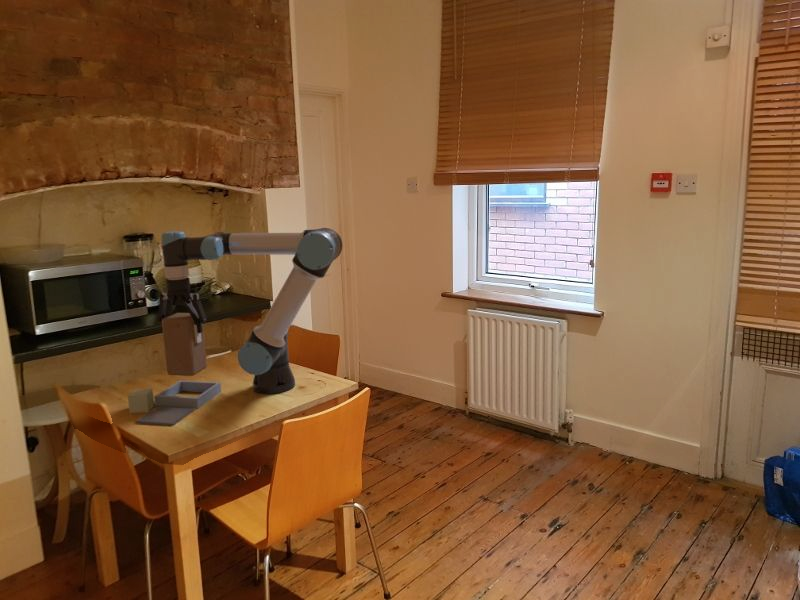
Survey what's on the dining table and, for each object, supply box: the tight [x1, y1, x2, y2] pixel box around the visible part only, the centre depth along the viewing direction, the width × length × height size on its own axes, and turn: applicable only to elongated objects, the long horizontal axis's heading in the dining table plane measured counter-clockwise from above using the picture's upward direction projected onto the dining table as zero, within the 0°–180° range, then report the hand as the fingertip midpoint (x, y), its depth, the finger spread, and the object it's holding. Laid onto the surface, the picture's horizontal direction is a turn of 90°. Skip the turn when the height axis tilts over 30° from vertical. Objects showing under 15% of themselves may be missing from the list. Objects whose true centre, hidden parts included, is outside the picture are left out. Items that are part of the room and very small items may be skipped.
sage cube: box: [127, 388, 155, 414], centre depth 206 cm, size 6×6×6 cm
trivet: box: [135, 406, 196, 427], centre depth 200 cm, size 13×13×1 cm
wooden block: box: [161, 312, 208, 377], centre depth 211 cm, size 10×10×20 cm
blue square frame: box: [153, 380, 222, 409], centre depth 215 cm, size 16×16×4 cm
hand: (184, 341), depth 211 cm, fingers closed on wooden block, 10 cm apart
